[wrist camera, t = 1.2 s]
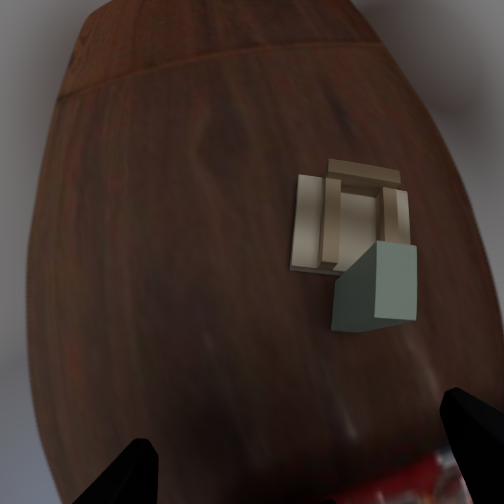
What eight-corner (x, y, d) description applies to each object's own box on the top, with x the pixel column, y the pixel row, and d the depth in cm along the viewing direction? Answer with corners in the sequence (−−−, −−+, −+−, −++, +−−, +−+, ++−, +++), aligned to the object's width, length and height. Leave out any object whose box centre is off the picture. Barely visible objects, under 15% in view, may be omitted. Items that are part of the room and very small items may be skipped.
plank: (359, 332, 24) (416, 320, 15) (330, 330, 24) (374, 317, 15) (362, 284, 25) (416, 246, 16) (335, 281, 25) (376, 240, 16)
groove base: (403, 282, 25) (427, 269, 21) (289, 270, 26) (295, 253, 21) (400, 198, 28) (420, 175, 23) (297, 183, 28) (303, 155, 24)
